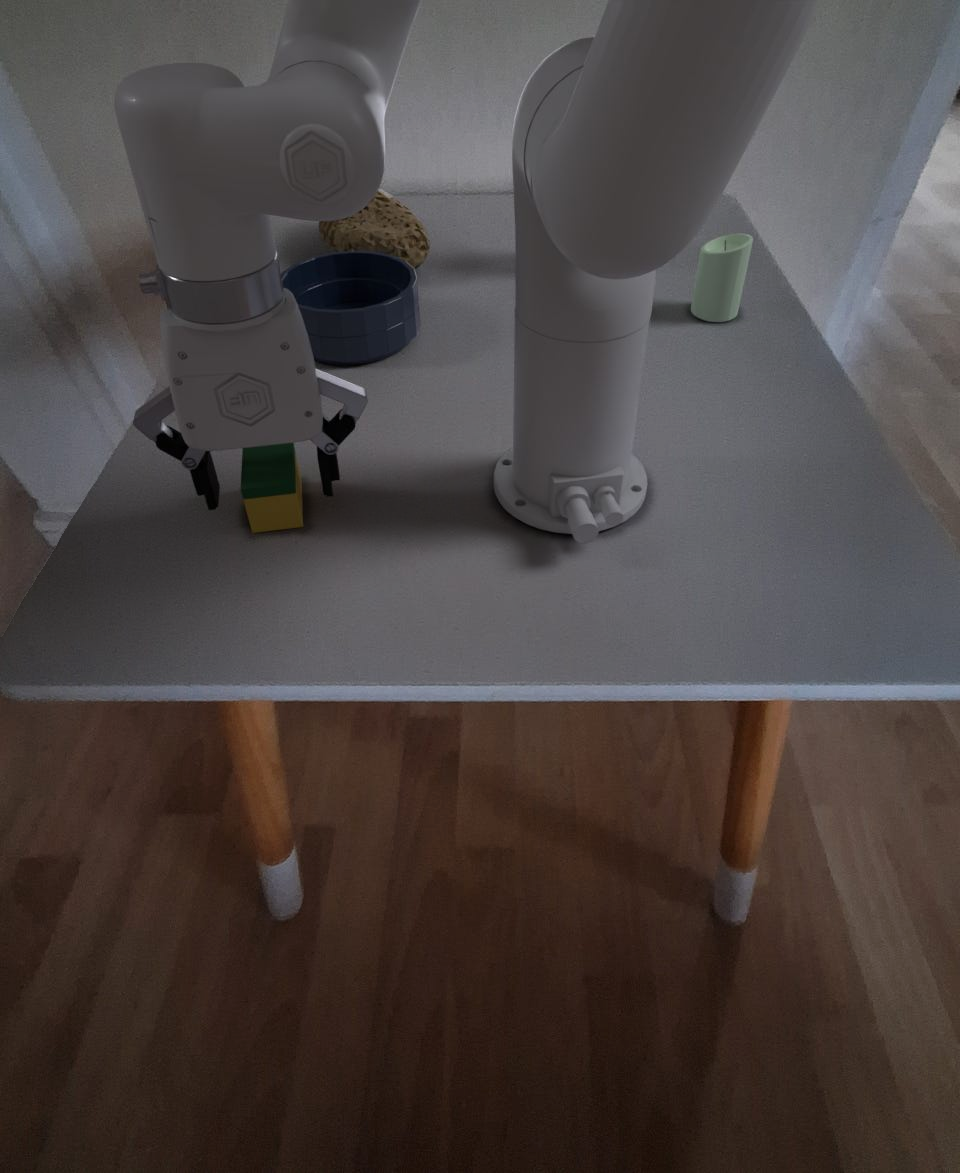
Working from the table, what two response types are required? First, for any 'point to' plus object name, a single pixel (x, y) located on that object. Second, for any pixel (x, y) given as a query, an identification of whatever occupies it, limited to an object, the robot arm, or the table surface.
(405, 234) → the sponge
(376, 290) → the bowl
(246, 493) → the scrub sponge
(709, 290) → the candle
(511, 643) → the table surface
